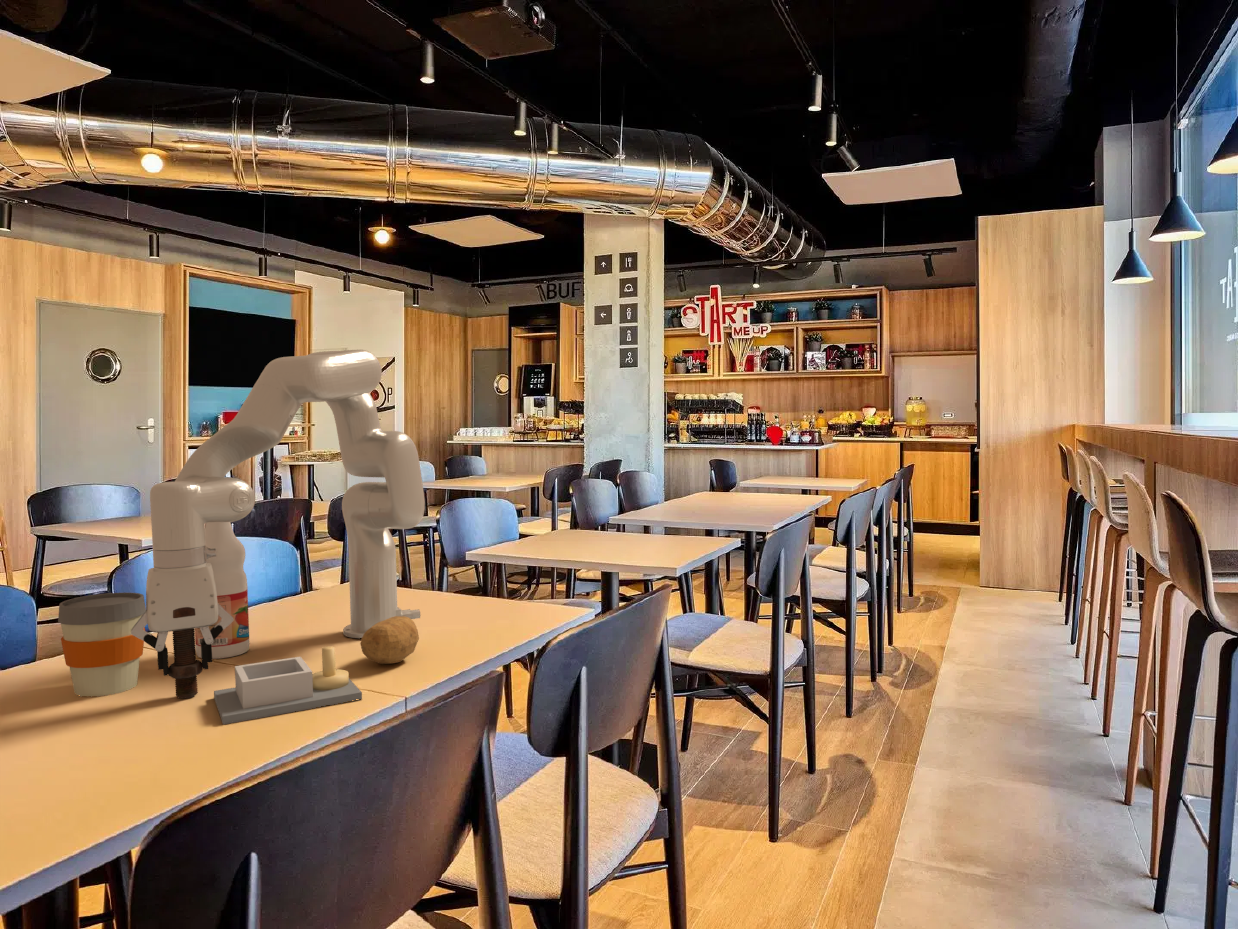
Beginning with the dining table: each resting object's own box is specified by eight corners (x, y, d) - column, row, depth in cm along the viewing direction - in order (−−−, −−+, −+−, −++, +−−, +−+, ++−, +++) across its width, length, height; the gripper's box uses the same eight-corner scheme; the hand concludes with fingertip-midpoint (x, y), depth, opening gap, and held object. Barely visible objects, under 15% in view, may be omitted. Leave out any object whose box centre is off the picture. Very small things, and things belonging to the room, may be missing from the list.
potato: (430, 651, 160) (429, 610, 159) (403, 673, 146) (402, 628, 145) (381, 650, 161) (379, 609, 160) (350, 672, 147) (349, 627, 146)
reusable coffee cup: (85, 705, 131) (80, 611, 130) (46, 692, 138) (42, 603, 137) (164, 683, 142) (160, 596, 141) (125, 673, 148) (121, 589, 148)
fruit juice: (193, 651, 162) (187, 508, 161) (245, 644, 167) (240, 505, 166) (199, 662, 154) (193, 512, 153) (253, 654, 159) (248, 508, 158)
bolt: (178, 691, 137) (174, 601, 136) (210, 689, 138) (205, 600, 137) (162, 703, 131) (157, 609, 130) (195, 701, 132) (190, 608, 131)
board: (342, 677, 144) (340, 636, 143) (362, 699, 132) (360, 654, 131) (214, 698, 134) (212, 654, 133) (222, 724, 122) (221, 676, 121)
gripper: (235, 550, 141) (240, 656, 142) (118, 561, 132) (124, 673, 133) (240, 556, 134) (246, 667, 135) (117, 568, 126) (124, 686, 127)
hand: (185, 669), depth 134 cm, fingers closed on bolt, 5 cm apart
